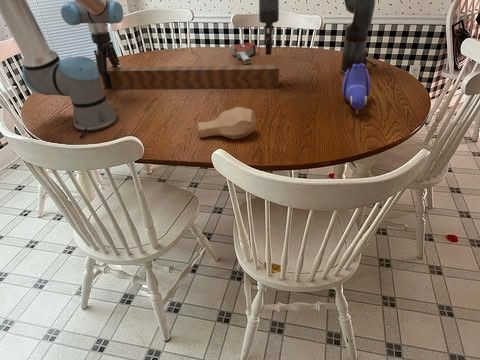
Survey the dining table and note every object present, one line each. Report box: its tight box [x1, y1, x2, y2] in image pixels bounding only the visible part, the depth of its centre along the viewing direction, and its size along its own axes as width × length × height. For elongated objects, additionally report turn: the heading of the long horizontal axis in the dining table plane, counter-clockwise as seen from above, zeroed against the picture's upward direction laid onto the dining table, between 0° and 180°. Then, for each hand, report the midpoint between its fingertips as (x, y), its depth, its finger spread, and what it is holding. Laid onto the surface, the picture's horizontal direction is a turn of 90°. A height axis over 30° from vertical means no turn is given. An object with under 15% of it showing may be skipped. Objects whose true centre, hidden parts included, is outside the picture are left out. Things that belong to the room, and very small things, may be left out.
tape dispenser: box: [230, 41, 256, 65], centre depth 185 cm, size 18×5×20 cm
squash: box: [197, 106, 257, 140], centre depth 118 cm, size 11×20×9 cm, turn 92°
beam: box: [100, 64, 280, 90], centre depth 156 cm, size 79×5×8 cm, turn 83°
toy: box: [341, 63, 371, 116], centre depth 129 cm, size 10×17×25 cm
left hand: (113, 83), depth 162 cm, fingers open, 9 cm apart
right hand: (269, 51), depth 145 cm, fingers open, 8 cm apart
